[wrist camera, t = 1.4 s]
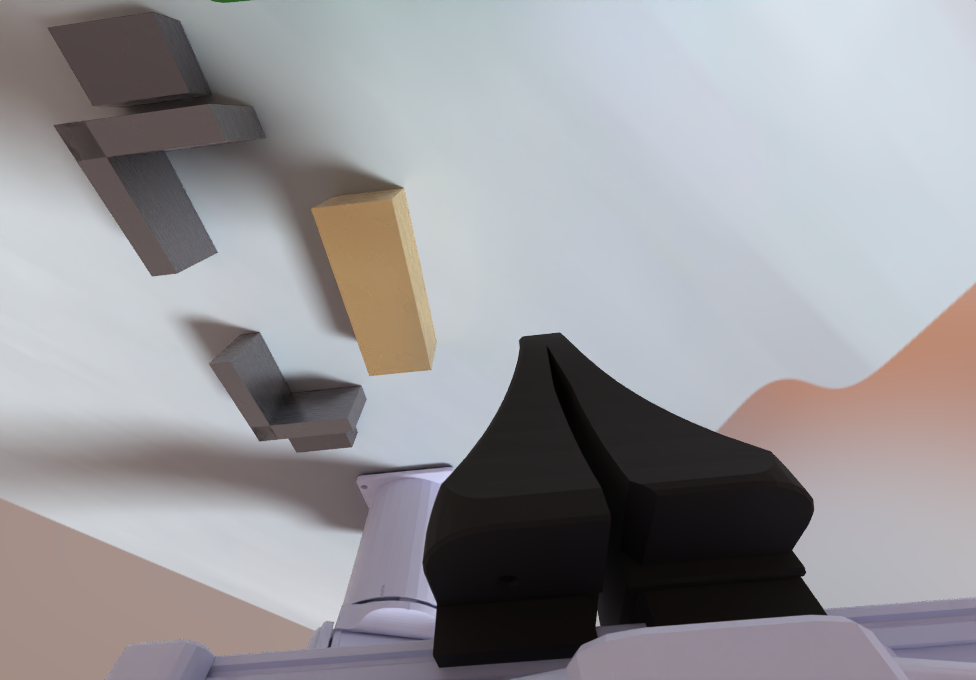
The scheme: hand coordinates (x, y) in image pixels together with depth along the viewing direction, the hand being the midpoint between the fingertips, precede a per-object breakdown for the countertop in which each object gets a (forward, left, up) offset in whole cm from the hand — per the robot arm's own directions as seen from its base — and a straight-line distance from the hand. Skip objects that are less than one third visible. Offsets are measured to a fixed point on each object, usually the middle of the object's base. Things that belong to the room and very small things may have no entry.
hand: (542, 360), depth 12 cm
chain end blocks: (0, +14, -9) cm, 17 cm away
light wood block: (0, +7, -10) cm, 12 cm away
